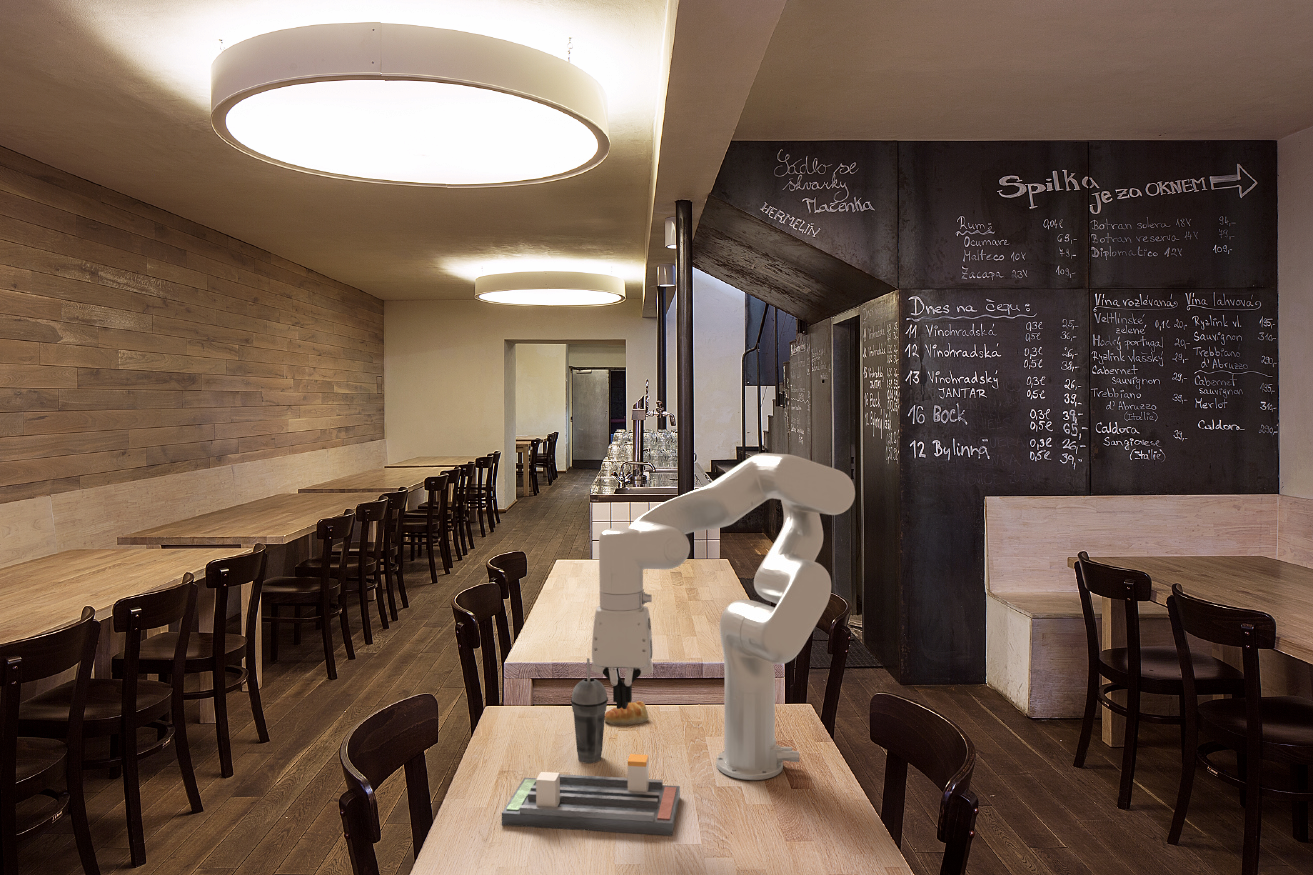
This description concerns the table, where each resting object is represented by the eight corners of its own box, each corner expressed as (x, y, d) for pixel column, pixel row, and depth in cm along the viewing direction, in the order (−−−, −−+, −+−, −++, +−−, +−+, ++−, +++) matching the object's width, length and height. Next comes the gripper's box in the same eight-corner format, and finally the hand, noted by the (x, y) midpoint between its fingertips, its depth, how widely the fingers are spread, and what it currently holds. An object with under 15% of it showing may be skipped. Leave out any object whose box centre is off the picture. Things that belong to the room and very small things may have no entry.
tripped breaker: (648, 787, 140) (648, 754, 140) (646, 795, 137) (646, 762, 137) (630, 786, 141) (630, 753, 141) (627, 794, 138) (627, 761, 138)
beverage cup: (611, 751, 161) (610, 651, 160) (605, 767, 153) (604, 662, 153) (575, 749, 161) (574, 650, 161) (567, 765, 154) (567, 661, 154)
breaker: (559, 802, 135) (559, 772, 135) (555, 810, 132) (555, 780, 132) (541, 800, 135) (541, 771, 135) (536, 809, 133) (536, 779, 132)
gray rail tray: (679, 797, 141) (679, 780, 141) (672, 835, 128) (672, 816, 128) (524, 788, 145) (524, 771, 145) (501, 824, 132) (501, 806, 132)
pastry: (610, 729, 172) (610, 711, 172) (599, 719, 178) (599, 702, 178) (650, 722, 176) (650, 705, 176) (638, 712, 182) (638, 695, 182)
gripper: (667, 596, 141) (668, 699, 142) (583, 594, 143) (584, 697, 144) (662, 606, 134) (663, 715, 134) (574, 604, 136) (575, 712, 136)
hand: (622, 705), depth 139 cm, fingers closed
